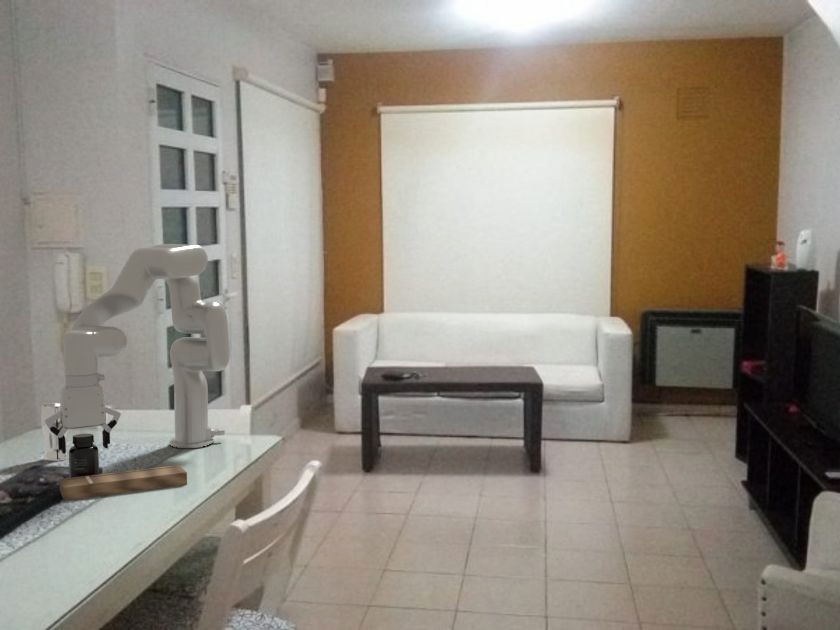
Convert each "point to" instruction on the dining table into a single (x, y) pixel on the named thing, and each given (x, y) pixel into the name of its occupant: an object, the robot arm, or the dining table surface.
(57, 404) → the beer glass
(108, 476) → the walnut plank
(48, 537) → the dining table surface
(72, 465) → the supplement bottle
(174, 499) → the dining table surface
